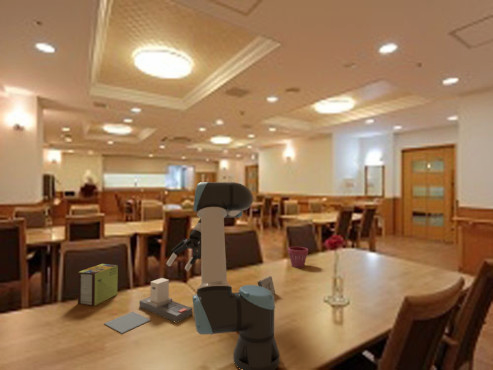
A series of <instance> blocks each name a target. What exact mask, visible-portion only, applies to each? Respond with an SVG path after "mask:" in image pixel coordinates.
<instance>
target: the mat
mask: <svg viewBox="0 0 493 370" xmlns="http://www.w3.org/2000/svg"><path fill="white" fill-rule="evenodd" d="M150 320H151V319H150V318H148V317H147V316H144V315H141V314H139V313H137V312H136V311H130V312H128V313H126V314H124V315H121V316H118V317H117V318H114V319H112V320H109V321H106V322H104V325H105V326H107V327H108V328H110V329H112V330H114V331H115V332H117V331H118V333H119V332H120V333H119V334H121V335H122V334H125V333H127V332H129V331H131V330H133V328H134V329H136V328H137V326H138V327H140V326H143V325H144V324H147V323H149V322H151V321H150ZM148 321H149V322H148ZM146 322H147V323H146Z"/></svg>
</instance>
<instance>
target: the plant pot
mask: <svg viewBox="0 0 493 370" xmlns="http://www.w3.org/2000/svg"><path fill="white" fill-rule="evenodd" d="M287 253H288V254H289V259H290V264H291V265H290V266H291V267H293V268H300V269H301V268H305V264H306V259H307V256H308V255H309V249H308V248H307V247H303V246H288V248H287Z"/></svg>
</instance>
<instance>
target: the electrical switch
mask: <svg viewBox="0 0 493 370" xmlns="http://www.w3.org/2000/svg"><path fill="white" fill-rule="evenodd" d="M257 286H261V287H264V288H266V289H268V290H270V291H271V292H272V293H273V295H275V294H276V289H275V285H274V281H273V277H272V275H269V276H267V277H265V278H263V279H262V278H261V279H260V280H258V281H257Z"/></svg>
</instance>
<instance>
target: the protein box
mask: <svg viewBox="0 0 493 370" xmlns="http://www.w3.org/2000/svg"><path fill="white" fill-rule="evenodd" d="M118 266H119V265H117V264H109V263H108V264H107V263H101V264H98V265H94V266H92V267H91V266H90V267H88V268H86V269H83V270H80V271H78V273H77V276H78V277H77V304H78V305H79V304H80V305H87V306H92V307H93V306H94V307H95V306H97V305H100V304H101V303H103V302H105V301H108V300H109V299H111V298H113V297H114V296H117V295H118V281H119V279H118V277H119V276H118V275H119V272H118V271H119V270H118V269H119V267H118Z"/></svg>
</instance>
